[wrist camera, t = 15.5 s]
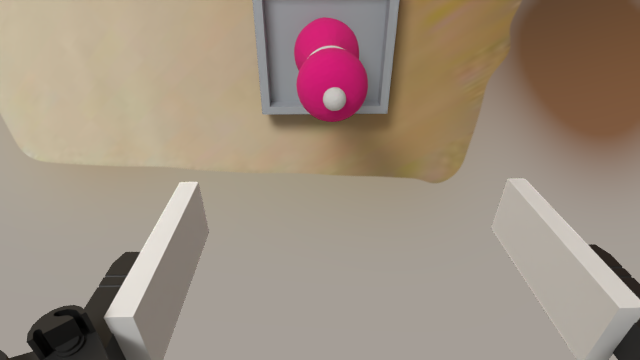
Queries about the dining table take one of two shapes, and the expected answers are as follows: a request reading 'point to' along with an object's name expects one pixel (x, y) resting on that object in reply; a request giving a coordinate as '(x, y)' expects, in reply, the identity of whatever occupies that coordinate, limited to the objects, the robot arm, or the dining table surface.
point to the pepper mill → (329, 70)
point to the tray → (288, 21)
